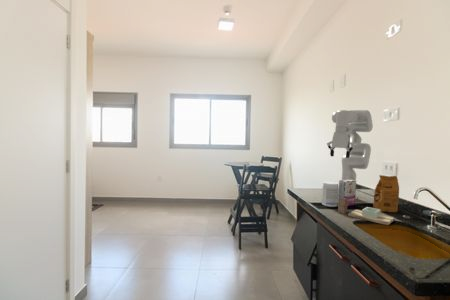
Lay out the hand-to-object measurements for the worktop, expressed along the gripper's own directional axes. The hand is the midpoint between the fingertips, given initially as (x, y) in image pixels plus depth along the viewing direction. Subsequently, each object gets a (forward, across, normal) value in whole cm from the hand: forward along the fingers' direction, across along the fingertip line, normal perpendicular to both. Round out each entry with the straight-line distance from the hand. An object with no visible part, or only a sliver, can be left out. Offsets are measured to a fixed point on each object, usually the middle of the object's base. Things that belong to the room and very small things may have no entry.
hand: (339, 157), depth 176 cm
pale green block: (+31, -23, +8) cm, 39 cm away
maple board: (+32, -23, +8) cm, 40 cm away
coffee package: (+31, -24, -17) cm, 43 cm away
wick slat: (+32, -8, +10) cm, 35 cm away
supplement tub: (+32, +4, 0) cm, 32 cm away
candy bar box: (+32, -3, -10) cm, 33 cm away
